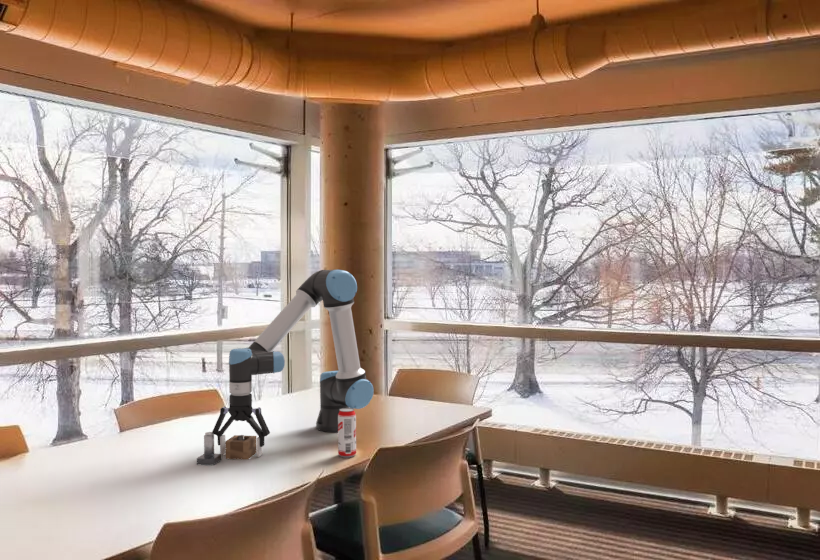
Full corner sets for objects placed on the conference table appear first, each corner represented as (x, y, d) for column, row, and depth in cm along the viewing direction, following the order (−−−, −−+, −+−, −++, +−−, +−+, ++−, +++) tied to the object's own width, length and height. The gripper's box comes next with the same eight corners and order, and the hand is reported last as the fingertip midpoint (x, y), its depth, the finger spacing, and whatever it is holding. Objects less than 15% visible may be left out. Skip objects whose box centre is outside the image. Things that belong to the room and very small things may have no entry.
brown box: (234, 452, 230) (234, 435, 230) (256, 452, 229) (256, 435, 229) (225, 458, 222) (225, 441, 222) (248, 459, 221) (247, 442, 221)
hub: (204, 459, 222) (204, 430, 222) (221, 459, 221) (221, 430, 221) (196, 464, 216) (196, 435, 216) (214, 465, 215) (213, 435, 215)
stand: (238, 454, 228) (238, 434, 228) (248, 454, 227) (248, 434, 227) (234, 457, 224) (234, 436, 224) (244, 457, 224) (244, 437, 224)
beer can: (339, 458, 222) (339, 412, 221) (336, 453, 228) (336, 408, 227) (357, 457, 223) (357, 410, 223) (354, 452, 229) (354, 407, 229)
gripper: (201, 394, 223) (202, 457, 224) (271, 396, 220) (271, 459, 221) (211, 390, 231) (211, 451, 231) (278, 392, 228) (279, 453, 228)
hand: (241, 455), depth 226 cm, fingers open, 12 cm apart
